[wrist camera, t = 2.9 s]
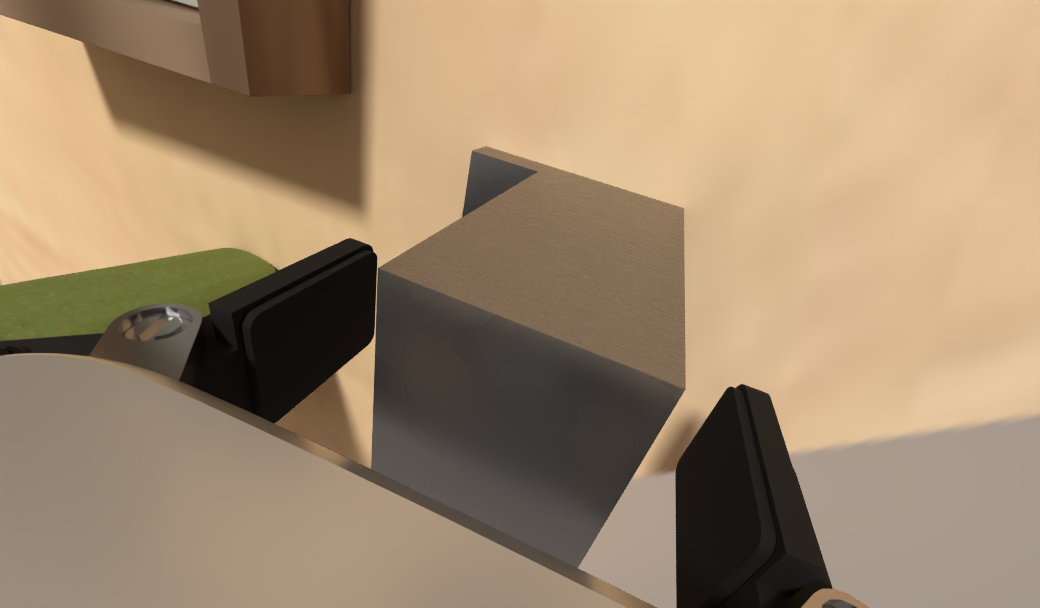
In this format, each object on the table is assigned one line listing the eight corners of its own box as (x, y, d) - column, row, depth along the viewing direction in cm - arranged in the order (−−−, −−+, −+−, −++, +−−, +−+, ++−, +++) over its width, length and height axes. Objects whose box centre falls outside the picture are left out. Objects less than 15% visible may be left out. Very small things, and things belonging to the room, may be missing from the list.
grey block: (683, 208, 11) (685, 389, 5) (602, 389, 15) (537, 634, 8) (486, 146, 12) (253, 219, 6) (456, 329, 16) (294, 504, 9)
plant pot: (410, 403, 19) (144, 715, 10) (259, 417, 24) (-7, 626, 15) (269, 147, 15) (-418, 252, 6) (126, 231, 20) (-351, 357, 11)
